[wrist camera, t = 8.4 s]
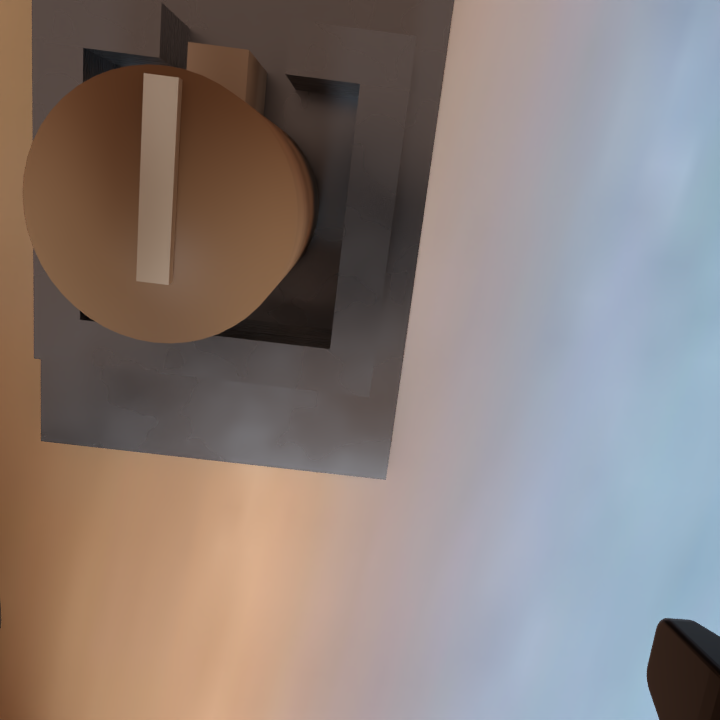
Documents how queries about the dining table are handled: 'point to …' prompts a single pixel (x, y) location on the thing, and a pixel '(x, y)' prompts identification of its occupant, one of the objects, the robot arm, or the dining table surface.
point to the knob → (169, 196)
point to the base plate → (309, 275)
